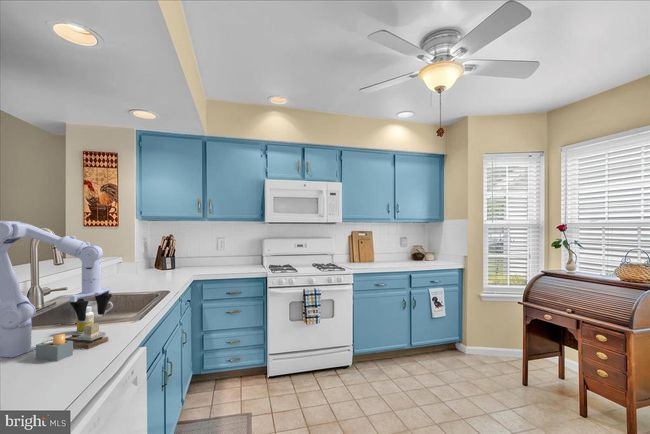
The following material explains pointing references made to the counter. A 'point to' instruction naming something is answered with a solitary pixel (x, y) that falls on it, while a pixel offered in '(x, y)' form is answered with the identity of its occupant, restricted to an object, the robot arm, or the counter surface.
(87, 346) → the rail track
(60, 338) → the button
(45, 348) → the gauge box
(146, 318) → the counter surface
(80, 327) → the supplement bottle
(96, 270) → the robot arm
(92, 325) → the carriage
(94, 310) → the teacup
